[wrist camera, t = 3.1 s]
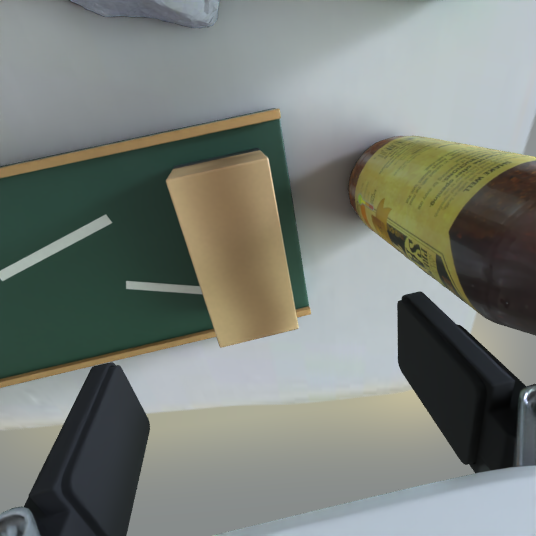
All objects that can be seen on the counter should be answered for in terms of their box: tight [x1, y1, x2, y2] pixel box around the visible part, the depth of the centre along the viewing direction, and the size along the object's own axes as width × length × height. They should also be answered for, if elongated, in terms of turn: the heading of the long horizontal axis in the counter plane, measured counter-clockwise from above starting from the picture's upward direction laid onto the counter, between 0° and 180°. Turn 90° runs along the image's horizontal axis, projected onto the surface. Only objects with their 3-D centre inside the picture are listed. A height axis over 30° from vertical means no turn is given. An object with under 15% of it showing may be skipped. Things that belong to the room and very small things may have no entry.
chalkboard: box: [0, 108, 311, 388], centre depth 22 cm, size 26×14×2 cm, turn 101°
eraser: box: [166, 148, 299, 347], centre depth 20 cm, size 5×10×4 cm, turn 11°
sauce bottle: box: [348, 136, 536, 335], centre depth 14 cm, size 6×6×20 cm
